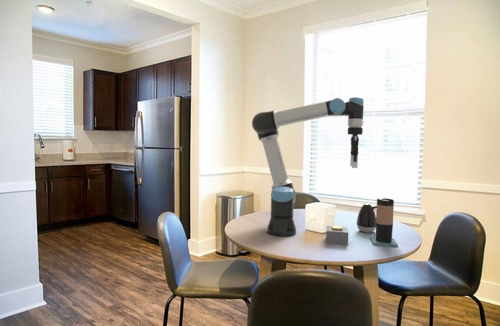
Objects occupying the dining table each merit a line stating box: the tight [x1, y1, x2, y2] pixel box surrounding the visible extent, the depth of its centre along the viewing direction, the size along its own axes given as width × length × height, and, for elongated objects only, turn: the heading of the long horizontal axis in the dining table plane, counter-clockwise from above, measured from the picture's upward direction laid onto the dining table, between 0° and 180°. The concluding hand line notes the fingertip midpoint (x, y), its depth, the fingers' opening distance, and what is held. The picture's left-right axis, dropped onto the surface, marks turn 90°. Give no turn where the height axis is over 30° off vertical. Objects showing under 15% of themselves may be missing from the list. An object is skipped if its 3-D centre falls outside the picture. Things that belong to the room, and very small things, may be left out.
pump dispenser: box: [356, 203, 377, 234], centre depth 186 cm, size 10×10×15 cm
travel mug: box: [375, 198, 395, 243], centre depth 166 cm, size 8×8×20 cm
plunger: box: [332, 225, 343, 231], centre depth 168 cm, size 4×4×6 cm
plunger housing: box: [325, 225, 349, 246], centre depth 168 cm, size 10×10×6 cm
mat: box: [370, 236, 399, 248], centre depth 167 cm, size 11×11×1 cm
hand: (353, 167), depth 185 cm, fingers open, 13 cm apart
